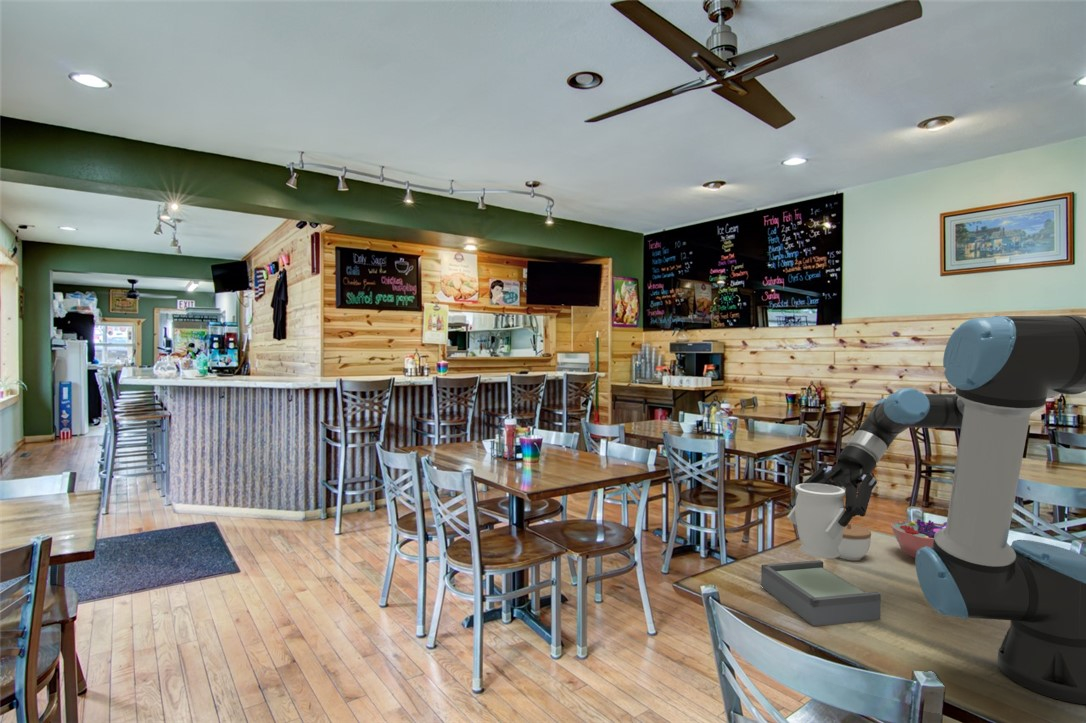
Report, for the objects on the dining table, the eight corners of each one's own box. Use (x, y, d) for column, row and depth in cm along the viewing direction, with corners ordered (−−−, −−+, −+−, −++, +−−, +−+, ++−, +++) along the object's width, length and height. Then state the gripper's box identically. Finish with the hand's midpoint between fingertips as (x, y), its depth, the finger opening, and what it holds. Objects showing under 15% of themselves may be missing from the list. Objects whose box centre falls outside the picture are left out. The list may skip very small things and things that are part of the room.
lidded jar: (821, 556, 160) (821, 523, 160) (836, 547, 168) (836, 515, 167) (862, 566, 152) (863, 532, 152) (876, 556, 160) (876, 523, 159)
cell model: (907, 544, 170) (907, 506, 169) (988, 565, 153) (988, 523, 153) (878, 556, 160) (878, 516, 160) (960, 580, 144) (961, 535, 143)
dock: (880, 619, 123) (880, 594, 123) (813, 626, 120) (813, 600, 120) (820, 581, 143) (820, 560, 143) (761, 587, 140) (761, 564, 140)
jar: (851, 562, 125) (851, 494, 125) (801, 559, 127) (801, 492, 127) (837, 546, 136) (837, 483, 135) (790, 543, 138) (790, 481, 137)
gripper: (915, 474, 125) (862, 554, 121) (830, 456, 147) (781, 523, 142) (898, 452, 124) (843, 533, 119) (814, 436, 145) (764, 504, 140)
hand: (809, 527), depth 130 cm, fingers closed on jar, 10 cm apart
